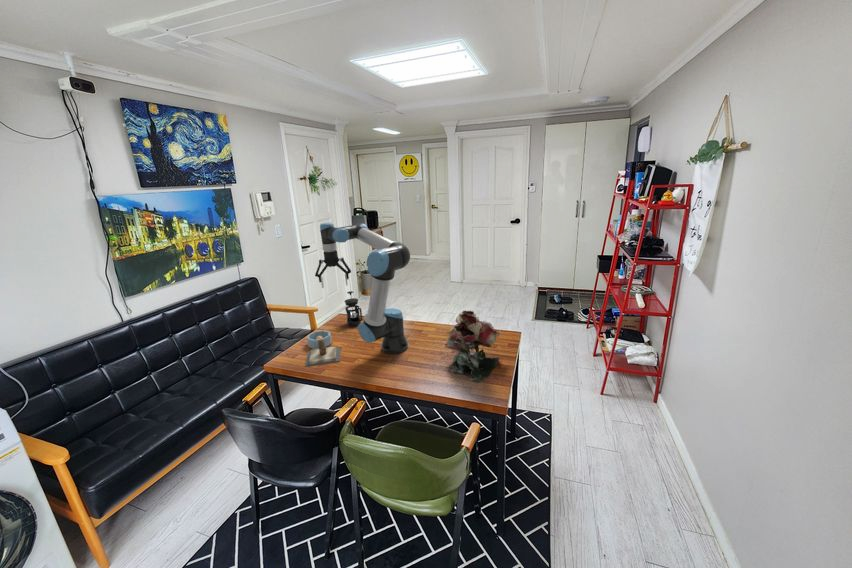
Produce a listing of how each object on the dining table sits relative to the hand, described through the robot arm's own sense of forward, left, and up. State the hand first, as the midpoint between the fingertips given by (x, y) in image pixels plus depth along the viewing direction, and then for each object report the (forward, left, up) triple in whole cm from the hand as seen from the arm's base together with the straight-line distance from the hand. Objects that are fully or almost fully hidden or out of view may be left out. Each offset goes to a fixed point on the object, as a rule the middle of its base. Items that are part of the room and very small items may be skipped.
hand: (335, 286), depth 207 cm
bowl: (+13, +2, -35) cm, 37 cm away
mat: (+10, +19, -35) cm, 41 cm away
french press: (-8, -22, -35) cm, 42 cm away
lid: (+10, +19, -34) cm, 40 cm away
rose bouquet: (-65, +50, -35) cm, 89 cm away
